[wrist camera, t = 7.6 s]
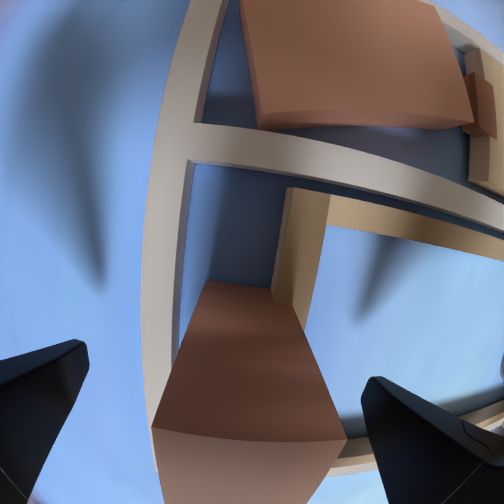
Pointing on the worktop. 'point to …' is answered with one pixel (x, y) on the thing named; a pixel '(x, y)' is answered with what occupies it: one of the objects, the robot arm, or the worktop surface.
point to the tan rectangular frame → (274, 369)
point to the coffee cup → (502, 370)
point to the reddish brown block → (352, 65)
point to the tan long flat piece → (485, 120)
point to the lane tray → (259, 159)
